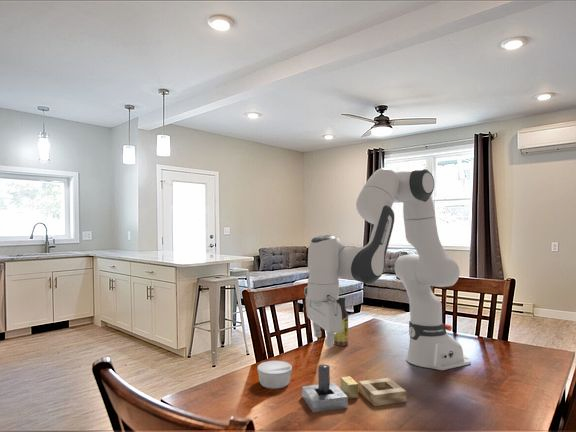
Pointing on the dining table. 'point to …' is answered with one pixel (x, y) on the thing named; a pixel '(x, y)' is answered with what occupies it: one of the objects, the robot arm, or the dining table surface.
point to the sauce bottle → (342, 337)
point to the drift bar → (349, 387)
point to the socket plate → (324, 398)
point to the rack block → (382, 391)
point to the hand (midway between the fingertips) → (323, 341)
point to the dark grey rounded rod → (323, 380)
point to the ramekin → (274, 374)
